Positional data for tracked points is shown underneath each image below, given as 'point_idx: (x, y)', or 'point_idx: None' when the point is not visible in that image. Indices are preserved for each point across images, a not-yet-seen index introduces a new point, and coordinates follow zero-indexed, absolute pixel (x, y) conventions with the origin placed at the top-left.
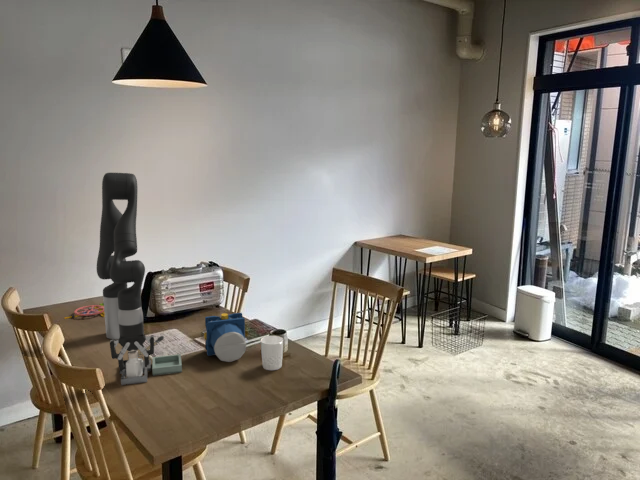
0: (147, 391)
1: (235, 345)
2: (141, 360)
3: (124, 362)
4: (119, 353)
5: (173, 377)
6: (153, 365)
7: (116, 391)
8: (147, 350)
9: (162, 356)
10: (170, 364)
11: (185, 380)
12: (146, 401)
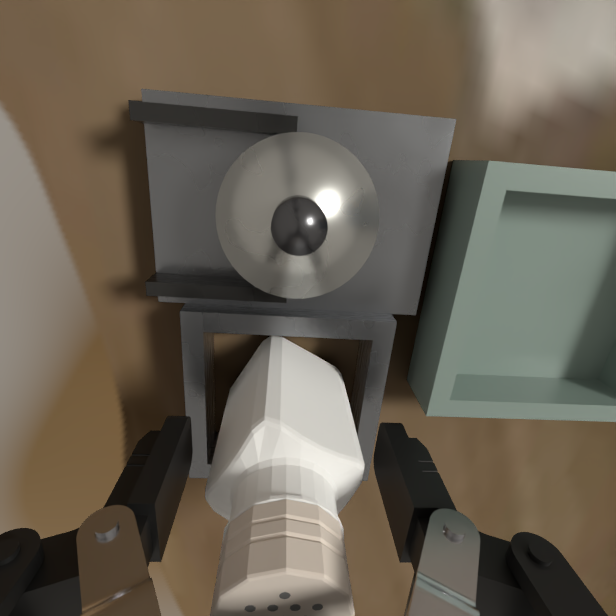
0: (347, 537)
1: None
2: (362, 475)
3: (180, 127)
4: (84, 579)
5: (520, 436)
6: (447, 363)
7: None
8: (478, 561)
9: (586, 182)
10: (580, 266)
11: (566, 485)
12: None
